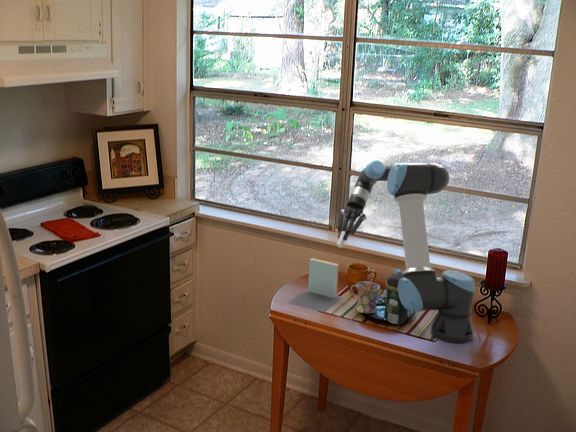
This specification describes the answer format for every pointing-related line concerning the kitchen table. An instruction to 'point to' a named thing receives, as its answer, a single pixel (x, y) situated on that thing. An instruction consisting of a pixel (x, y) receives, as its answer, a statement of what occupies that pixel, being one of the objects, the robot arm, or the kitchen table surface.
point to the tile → (323, 277)
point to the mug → (366, 296)
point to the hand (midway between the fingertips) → (339, 245)
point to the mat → (315, 301)
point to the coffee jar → (394, 301)
